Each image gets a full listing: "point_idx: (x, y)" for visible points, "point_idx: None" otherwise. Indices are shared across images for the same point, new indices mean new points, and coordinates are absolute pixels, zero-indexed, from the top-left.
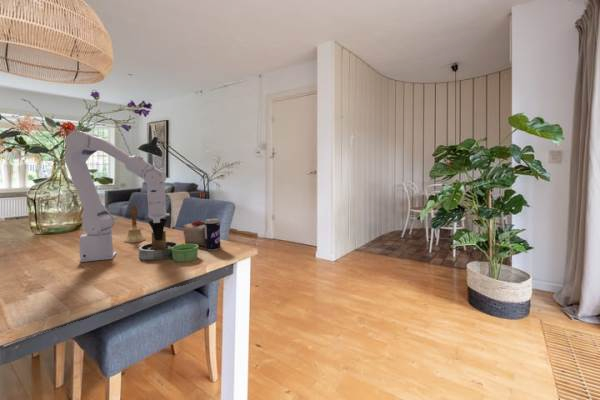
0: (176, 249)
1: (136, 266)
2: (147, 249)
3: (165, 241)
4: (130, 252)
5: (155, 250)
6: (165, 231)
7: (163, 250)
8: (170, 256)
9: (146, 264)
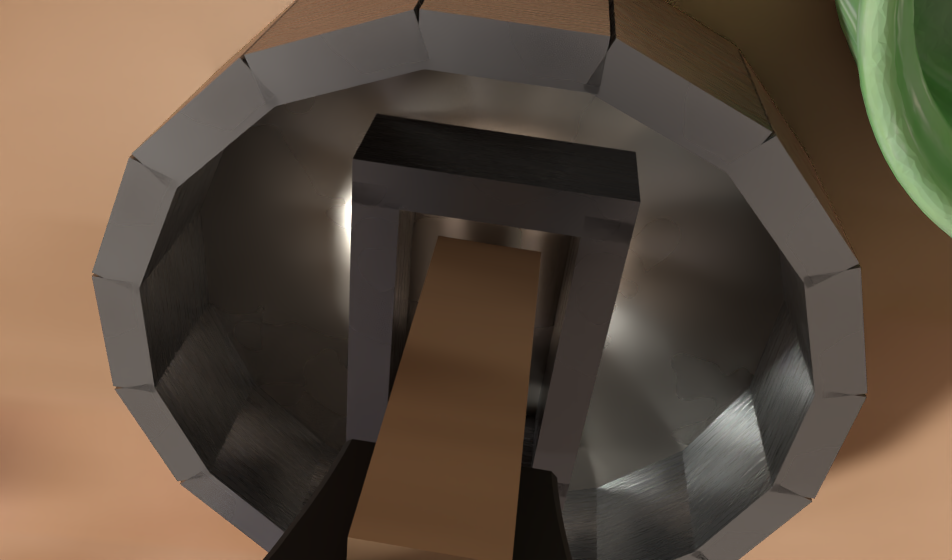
0: (949, 126)
1: (888, 552)
2: (287, 444)
3: (528, 362)
4: (152, 528)
5: (817, 484)
6: (398, 542)
7: (859, 367)
8: (814, 171)
9: (894, 468)
